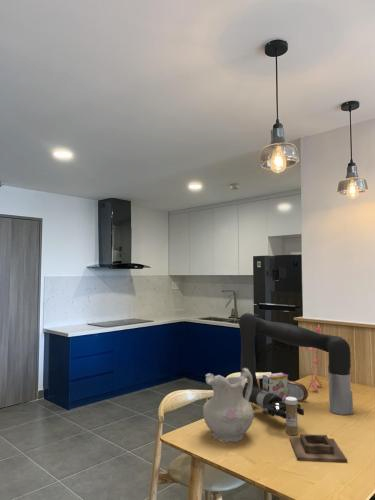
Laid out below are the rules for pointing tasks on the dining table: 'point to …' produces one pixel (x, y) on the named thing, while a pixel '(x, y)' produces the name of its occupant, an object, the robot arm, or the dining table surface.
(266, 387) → the candy bar box
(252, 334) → the robot arm
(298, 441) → the walnut stand
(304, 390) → the grey brown oval slab
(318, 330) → the pink branching piece
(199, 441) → the dining table surface
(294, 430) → the spice jar
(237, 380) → the ceramic pitcher
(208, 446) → the dining table surface
